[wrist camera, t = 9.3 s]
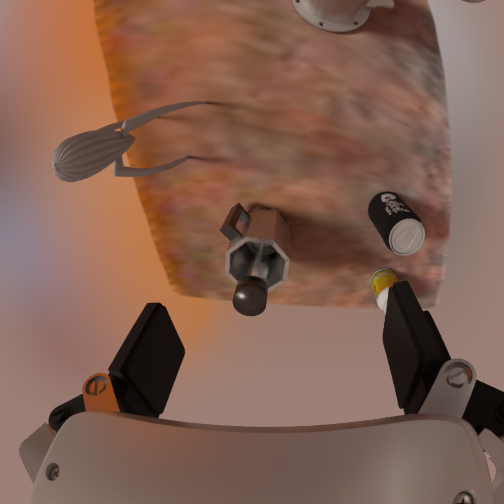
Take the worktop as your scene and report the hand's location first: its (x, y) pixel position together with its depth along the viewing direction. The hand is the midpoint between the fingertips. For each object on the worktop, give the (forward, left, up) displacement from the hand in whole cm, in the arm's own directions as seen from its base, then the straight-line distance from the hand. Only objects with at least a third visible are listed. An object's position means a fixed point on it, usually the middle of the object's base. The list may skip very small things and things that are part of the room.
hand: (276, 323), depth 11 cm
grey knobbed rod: (+6, +13, -36) cm, 39 cm away
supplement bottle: (-16, +26, -38) cm, 49 cm away
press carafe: (+7, +12, -38) cm, 41 cm away
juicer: (+15, -9, -38) cm, 42 cm away
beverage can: (-16, +11, -38) cm, 43 cm away
